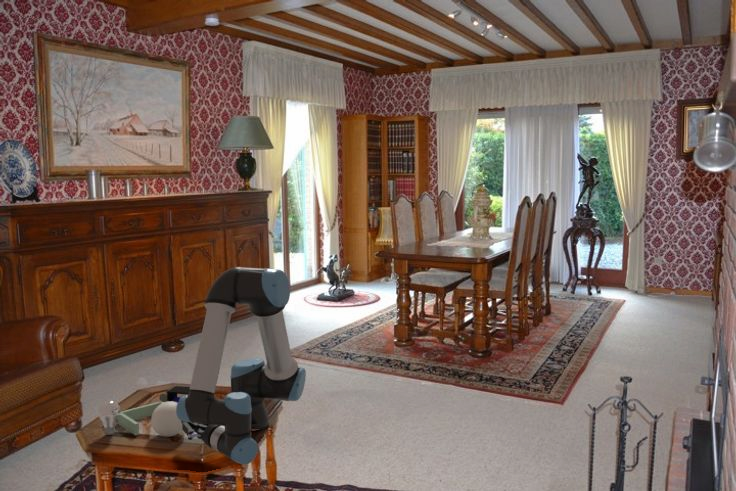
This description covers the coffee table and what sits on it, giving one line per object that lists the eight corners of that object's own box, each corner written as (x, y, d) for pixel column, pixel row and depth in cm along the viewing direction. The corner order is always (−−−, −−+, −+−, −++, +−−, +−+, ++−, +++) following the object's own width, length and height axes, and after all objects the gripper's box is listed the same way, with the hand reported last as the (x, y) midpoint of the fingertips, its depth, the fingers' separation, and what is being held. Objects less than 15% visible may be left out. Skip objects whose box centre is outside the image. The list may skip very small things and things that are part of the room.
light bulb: (112, 440, 207) (111, 405, 205) (94, 438, 208) (93, 403, 207) (124, 432, 213) (124, 398, 212) (106, 430, 215) (105, 396, 213)
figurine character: (159, 411, 237) (195, 410, 233) (157, 391, 236) (193, 391, 233) (169, 404, 244) (204, 404, 240) (167, 385, 243) (202, 385, 239)
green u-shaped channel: (181, 422, 223) (180, 411, 222) (135, 435, 211) (135, 424, 210) (161, 411, 233) (161, 401, 232) (117, 423, 220) (117, 412, 220)
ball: (194, 432, 214) (193, 399, 213) (170, 445, 204) (170, 411, 203) (168, 426, 219) (167, 394, 218) (143, 438, 209) (143, 405, 207)
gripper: (200, 455, 183) (162, 432, 200) (238, 443, 193) (198, 422, 209) (200, 431, 183) (162, 410, 199) (238, 420, 192) (198, 400, 208)
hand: (180, 416), depth 204 cm, fingers closed
